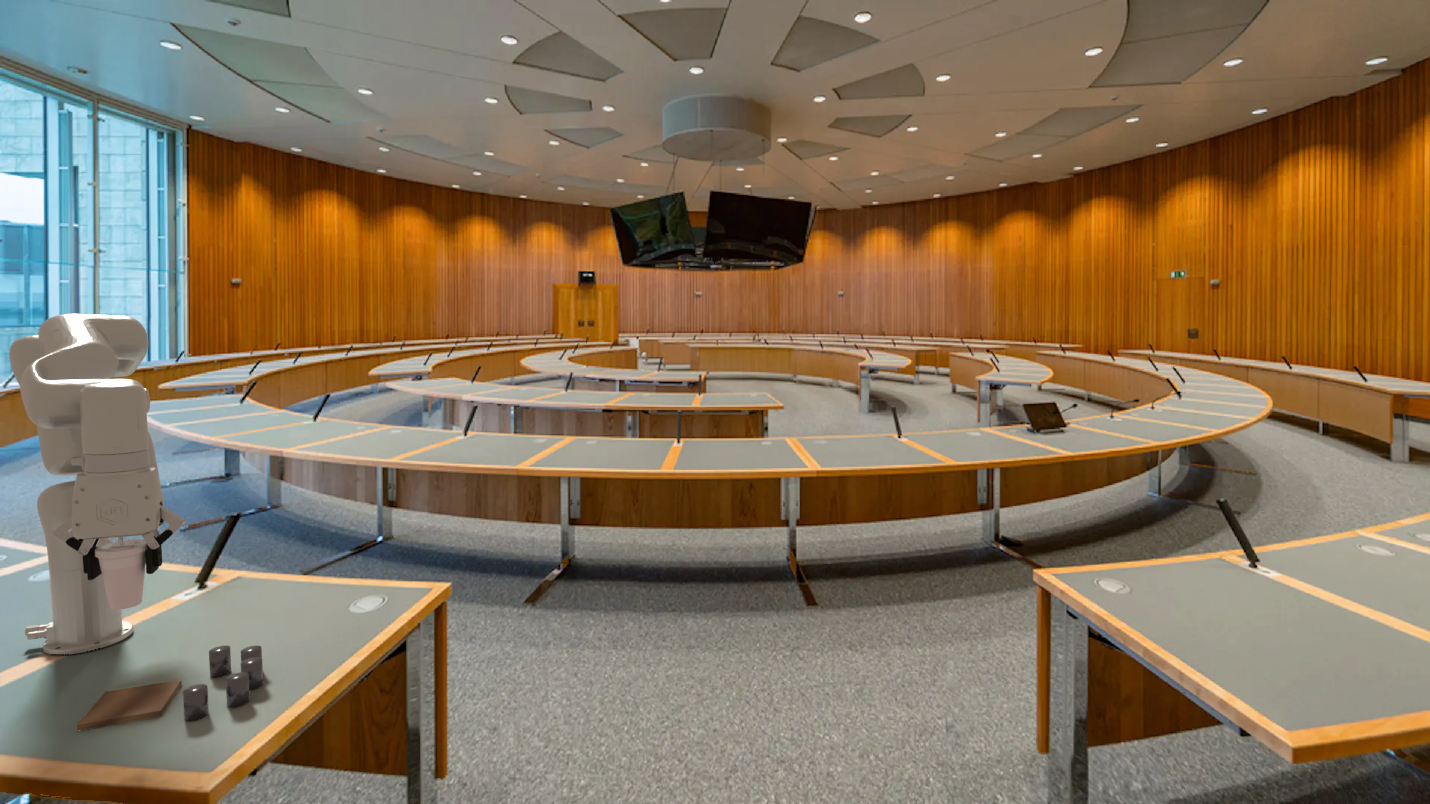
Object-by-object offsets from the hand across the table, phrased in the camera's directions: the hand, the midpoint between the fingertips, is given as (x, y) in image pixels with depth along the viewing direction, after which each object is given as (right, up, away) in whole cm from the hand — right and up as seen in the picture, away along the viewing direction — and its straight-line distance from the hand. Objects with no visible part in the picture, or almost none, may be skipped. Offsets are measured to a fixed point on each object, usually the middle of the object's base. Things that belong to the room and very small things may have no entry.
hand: (124, 573), depth 101 cm
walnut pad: (-1, -22, +2) cm, 22 cm away
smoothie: (0, -5, 0) cm, 5 cm away
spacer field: (+11, -22, +8) cm, 26 cm away
